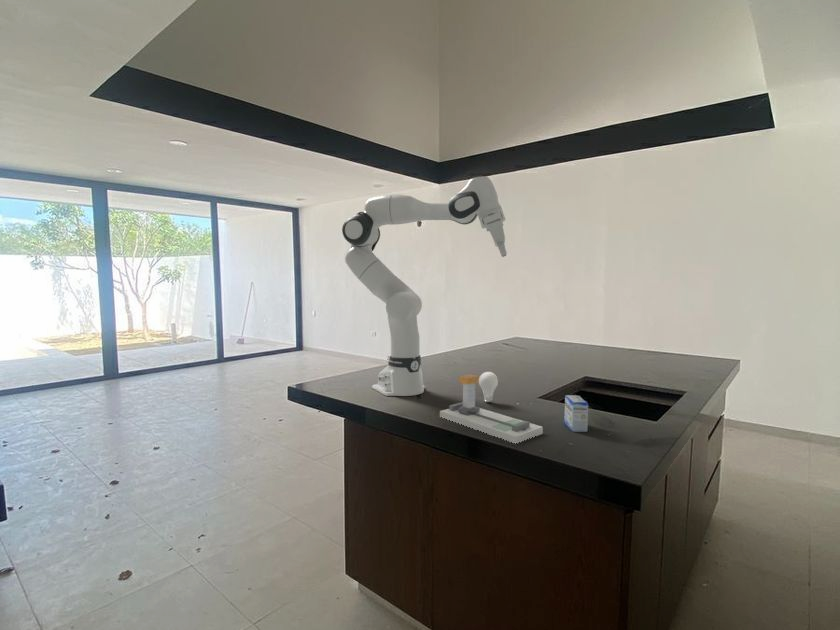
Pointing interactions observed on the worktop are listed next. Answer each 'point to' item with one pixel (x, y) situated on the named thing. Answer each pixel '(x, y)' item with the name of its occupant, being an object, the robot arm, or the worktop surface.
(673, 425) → the worktop surface
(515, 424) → the fader console
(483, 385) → the light bulb
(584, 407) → the medicine box
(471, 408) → the fader lever
